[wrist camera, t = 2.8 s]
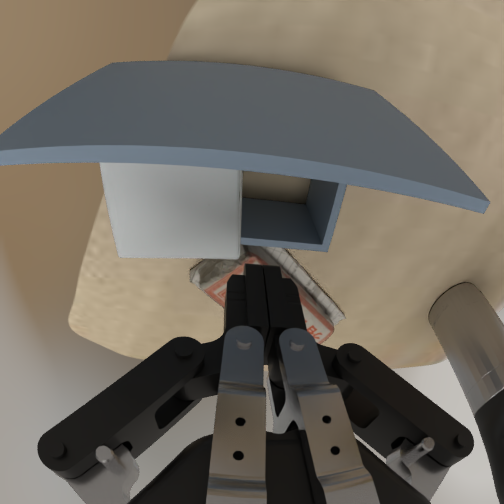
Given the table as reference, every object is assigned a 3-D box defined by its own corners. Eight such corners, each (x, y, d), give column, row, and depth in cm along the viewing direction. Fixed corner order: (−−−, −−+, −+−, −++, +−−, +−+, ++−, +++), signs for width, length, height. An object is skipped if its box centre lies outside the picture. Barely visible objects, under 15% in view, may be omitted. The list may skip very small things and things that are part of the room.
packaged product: (180, 299, 30) (260, 242, 26) (186, 269, 34) (257, 216, 30) (286, 374, 38) (354, 340, 35) (282, 346, 42) (344, 311, 39)
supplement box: (155, 100, 23) (92, 134, 13) (243, 98, 23) (247, 128, 13) (160, 179, 27) (115, 260, 17) (240, 178, 28) (242, 262, 17)
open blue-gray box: (336, 88, 23) (367, 98, 17) (310, 210, 30) (327, 252, 24) (146, 68, 21) (116, 72, 16) (143, 195, 28) (120, 234, 22)
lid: (371, 97, 17) (374, 90, 17) (483, 215, 8) (490, 202, 8) (112, 70, 15) (112, 62, 15) (-18, 168, 7) (-22, 153, 6)
